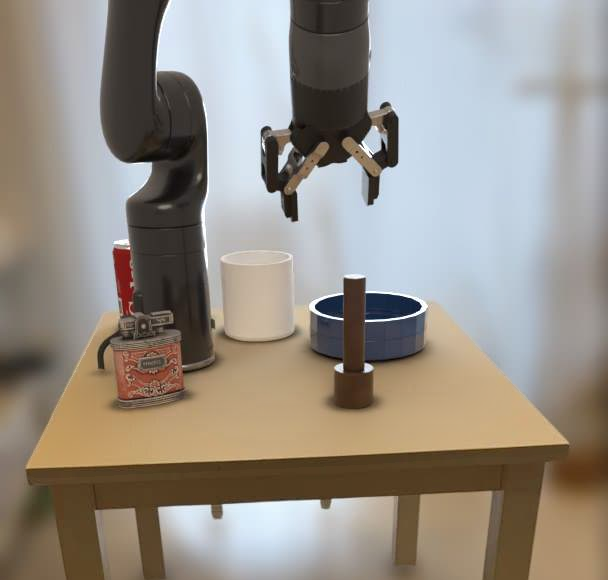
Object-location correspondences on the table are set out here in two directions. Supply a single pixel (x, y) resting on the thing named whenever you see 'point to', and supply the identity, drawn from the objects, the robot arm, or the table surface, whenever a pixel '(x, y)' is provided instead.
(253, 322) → the mug
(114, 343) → the lighter
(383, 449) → the table surface
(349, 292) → the brown peg with base
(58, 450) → the table surface
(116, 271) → the soda can
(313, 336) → the bowl
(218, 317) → the table surface
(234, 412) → the table surface
